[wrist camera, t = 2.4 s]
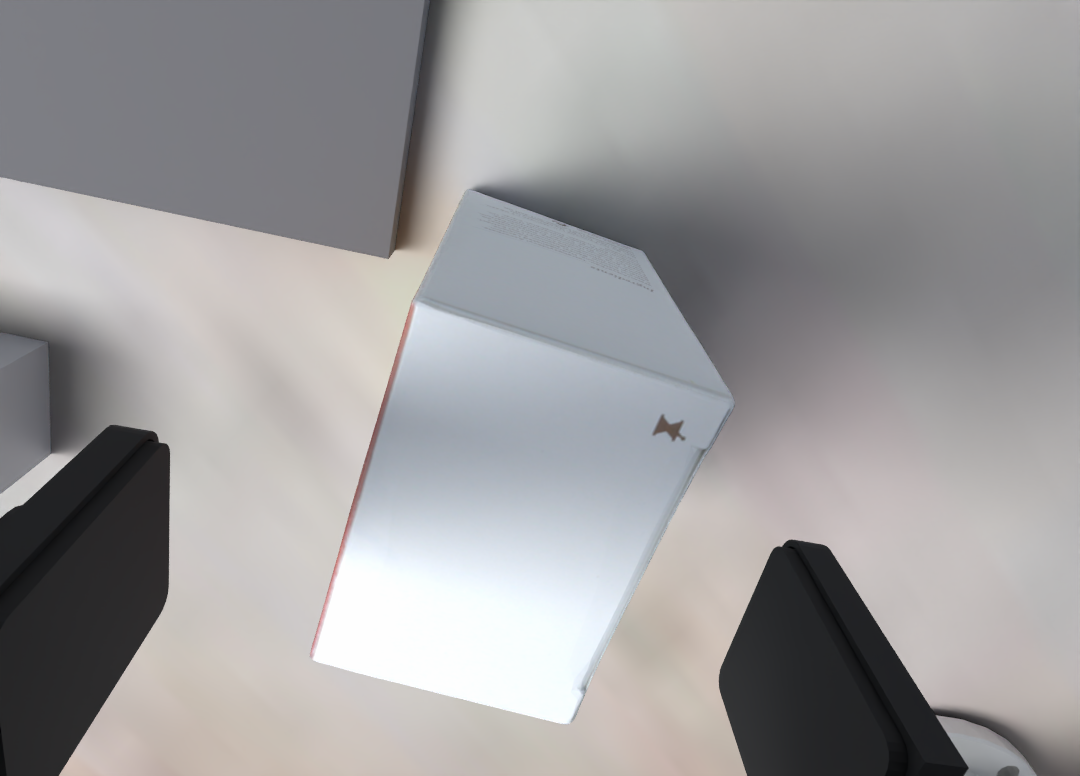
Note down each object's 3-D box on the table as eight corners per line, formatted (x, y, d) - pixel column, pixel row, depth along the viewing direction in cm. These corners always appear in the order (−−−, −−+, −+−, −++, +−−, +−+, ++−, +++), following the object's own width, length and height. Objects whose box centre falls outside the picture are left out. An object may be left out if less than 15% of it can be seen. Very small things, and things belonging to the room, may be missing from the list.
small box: (466, 183, 20) (411, 282, 11) (648, 249, 21) (748, 396, 12) (392, 423, 23) (297, 668, 14) (554, 472, 24) (572, 737, 15)
